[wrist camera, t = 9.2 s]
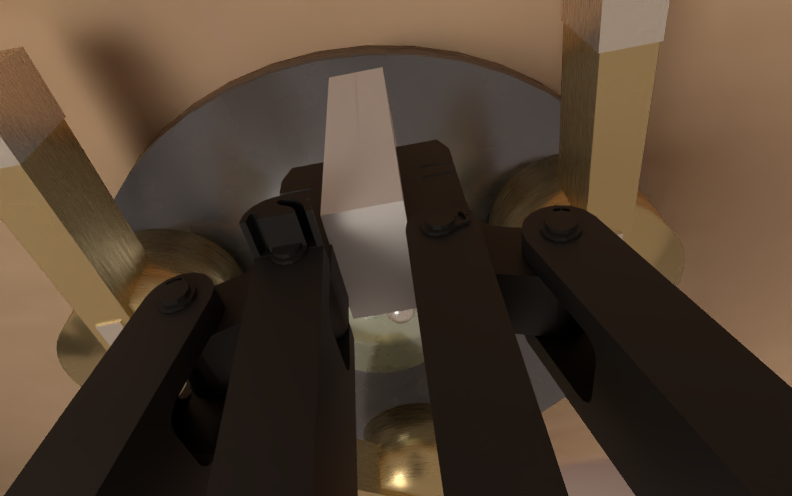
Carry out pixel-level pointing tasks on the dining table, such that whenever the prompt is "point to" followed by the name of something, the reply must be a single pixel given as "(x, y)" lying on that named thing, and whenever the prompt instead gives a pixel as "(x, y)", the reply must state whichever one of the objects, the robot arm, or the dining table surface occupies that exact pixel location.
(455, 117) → the plate
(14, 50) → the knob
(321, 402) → the robot arm
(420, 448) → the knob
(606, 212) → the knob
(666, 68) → the dining table surface
